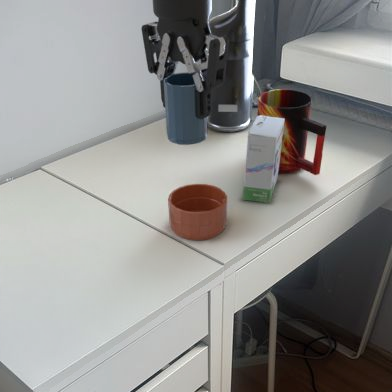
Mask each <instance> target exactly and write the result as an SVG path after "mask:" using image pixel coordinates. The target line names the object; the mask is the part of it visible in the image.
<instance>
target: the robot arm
mask: <svg viewBox="0 0 392 392" xmlns="http://www.w3.org/2000/svg"><path fill="white" fill-rule="evenodd" d="M212 1H213V0H152V10H153V11H152V12H153V14H154V16H155V17H156V18H158V20H157V21H152V22H148V23H146V24H142V26H141V35H142V40H143V48H144V53H145V60H146V65H147V71H148V72H149V74H155V75H156V78H157V79H158V81H159V83H160V84H159V85H160V98H161V103H162V107H163V108H164V109H165V96H164V78H165V77H166V76H169V75H171V74H176V70H177V67H178V64H179V63H181V64H183V65H185V66H186V69H187V72H188V73H189V74H190V75H192V76H193V79H194V82H195V85H196V88H197V90H198V91H196V117H197V118H199V119H204V118H206V117H207V127H209V128H211V129H212V130H214V131H218V132H224V133H225V132H226V133H230V132H232V133H233V132H238V131H242V130H245V129H246V128H248V127H249V126H250V122H252V120H253V119H252V116H253V107H258V102H255V100H254V99H253V98H254V79H255V77H254V75H253V74H252V71H253V52H254V50H253V49H254V31H255V30H254V28H255V13H256V0H237V2H236V5H235V6H233V7H232V8H231V9H230V10H229V11H226V12H224V13H222V14H219V15H216V16H214V17H212V18H211V19H210V15H211V13H212V11H213V2H212ZM209 19H210V20H209ZM155 57H156V60H155ZM199 61H200V63H199ZM197 62H198V63H199V64H197ZM201 74H202V75H203V77H204V80H203V79H202V75H201ZM282 80H283V79H281V78H280V76H278V77H275V78H274V79H272V80H270V81H268V83H267V84H266V89H267V90H268V91H271V90H275V89H274V88H273V87H271V86H272V85H274V84H275V83H277V82H279V81H282Z"/></svg>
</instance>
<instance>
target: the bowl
mask: <svg viewBox="0 0 392 392" xmlns="http://www.w3.org/2000/svg"><path fill="white" fill-rule="evenodd" d="M167 207H168V221H169V223H168V224H169V227H170V228H171V231H172V232H173V233H174V234H175V235H176V236H178V237H179V238H181V239H185V240H190V241H205V240H209V239H214V238H216V237H218V236H219V235H221V234H222V233H223V232H224V230H225V228H226V226H227V222H228V220H227V219H228V195H227V193H226V192H225V191H224V190H222V189H221V188H220V187H218V186H215V185H213V184H212V185H211V184H208V183H207V184H206V183H192V184H186V185H182V186H178V188H177V187H176V189H173V190H172V191H171V192H170V193H169V195H168V197H167Z"/></svg>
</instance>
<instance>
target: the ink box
mask: <svg viewBox="0 0 392 392" xmlns="http://www.w3.org/2000/svg"><path fill="white" fill-rule="evenodd" d="M284 121H285V119H284V118H276V117H268V116H258V115H257V116H256V117H255V119H254V122H253V123H252V125H251V127H249V130H248V134H247V144H246V156H245V157H246V158H245V167H244V168H245V169H244V181H243V194H242V200H243V201H249V202H258V203H265V204H266V203H267V204H269V203H271V202H270V201H271V199H272V197H273V193H274V190H275V187H276V184H277V181H278V179H279V178H278V177H279V174H278V171H279V163H280V154H281V146H282V138H283V130H284Z"/></svg>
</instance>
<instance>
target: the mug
mask: <svg viewBox="0 0 392 392" xmlns="http://www.w3.org/2000/svg"><path fill="white" fill-rule="evenodd" d="M257 103H258V106H257V116H268V117H276V118H284V119H285V121H284V130H283V138H282V146H281V154H280V163H279V171H278V175H287V174H293V173H296V172H299V171H300V170H303V171H306V172H307V173H310V174H312V175H314V176H318V175H320V173H321V167H322V160H323V150H324V144H325V139H326V132H327V125H326V124H324V123H321V122H319V121H315V120H312V119H311V114H312V107H313V106H312V105H313V96H312V95H310V94H308V93H307V92H304V91H302V90H298V89H297V90H296V89H289V88H283V89H282V88H281V89H279V88H278V89H274V90H271V91H269V90H268V91H264V92H262V93H261V94H260V95H259V96H258V102H257ZM309 133H312V134H314V135H316V142H315V147H314V155H313V162H312V161H310V160H308V159H306V152H307V144H308V137H309Z"/></svg>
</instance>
